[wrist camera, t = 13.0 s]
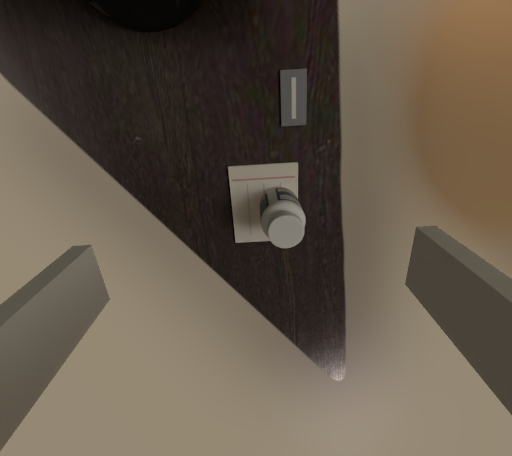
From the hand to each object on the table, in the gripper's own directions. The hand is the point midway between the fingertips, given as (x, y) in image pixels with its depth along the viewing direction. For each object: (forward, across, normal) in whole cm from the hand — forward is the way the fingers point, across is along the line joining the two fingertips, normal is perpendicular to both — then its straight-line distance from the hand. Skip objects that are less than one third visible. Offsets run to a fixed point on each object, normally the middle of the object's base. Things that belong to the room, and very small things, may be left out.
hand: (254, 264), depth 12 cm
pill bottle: (+26, +3, -7) cm, 28 cm away
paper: (+27, +1, -7) cm, 28 cm away
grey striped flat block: (+27, +5, +6) cm, 28 cm away
